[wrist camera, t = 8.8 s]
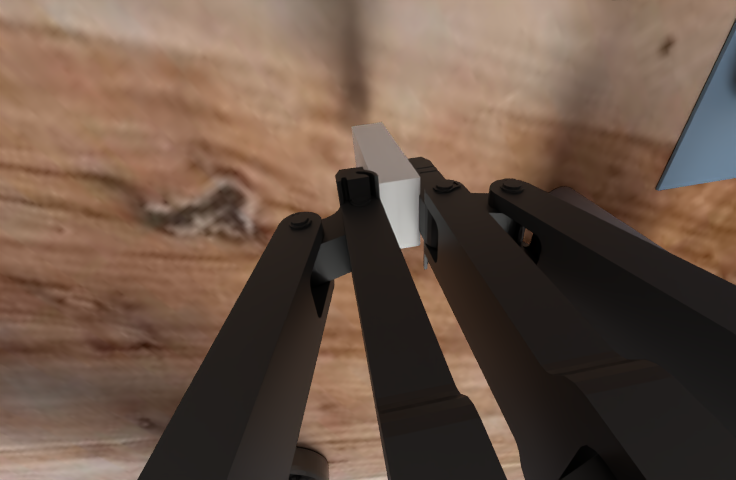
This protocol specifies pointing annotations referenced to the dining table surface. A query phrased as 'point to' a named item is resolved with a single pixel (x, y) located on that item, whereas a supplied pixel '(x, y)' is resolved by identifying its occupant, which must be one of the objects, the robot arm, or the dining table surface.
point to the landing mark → (708, 129)
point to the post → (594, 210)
